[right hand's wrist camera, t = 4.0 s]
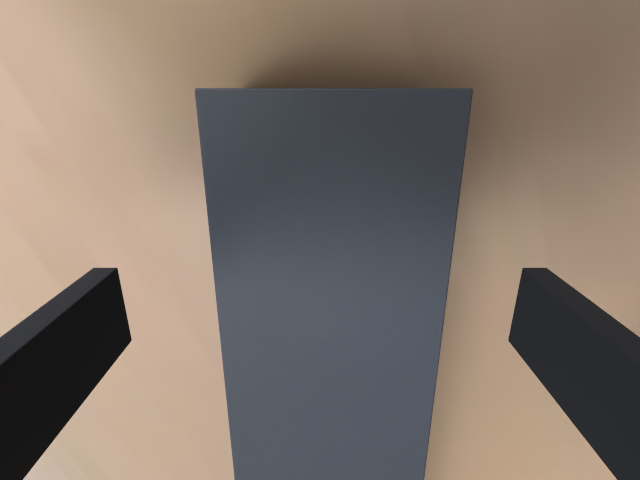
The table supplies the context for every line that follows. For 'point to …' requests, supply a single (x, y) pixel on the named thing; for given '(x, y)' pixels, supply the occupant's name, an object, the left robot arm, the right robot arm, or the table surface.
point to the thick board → (331, 271)
